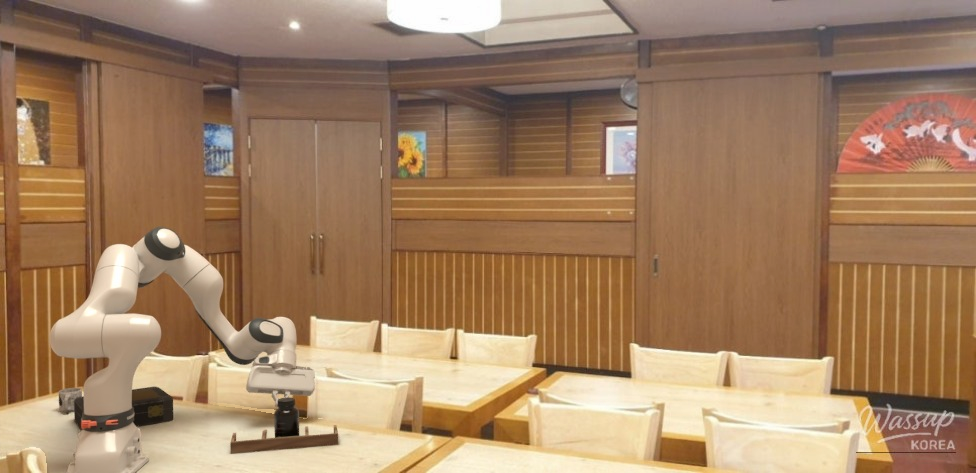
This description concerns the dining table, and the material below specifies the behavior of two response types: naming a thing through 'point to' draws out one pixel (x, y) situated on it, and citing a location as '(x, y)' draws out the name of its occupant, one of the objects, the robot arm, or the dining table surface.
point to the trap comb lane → (283, 442)
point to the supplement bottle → (286, 418)
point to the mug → (68, 399)
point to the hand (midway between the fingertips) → (280, 405)
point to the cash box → (140, 406)
